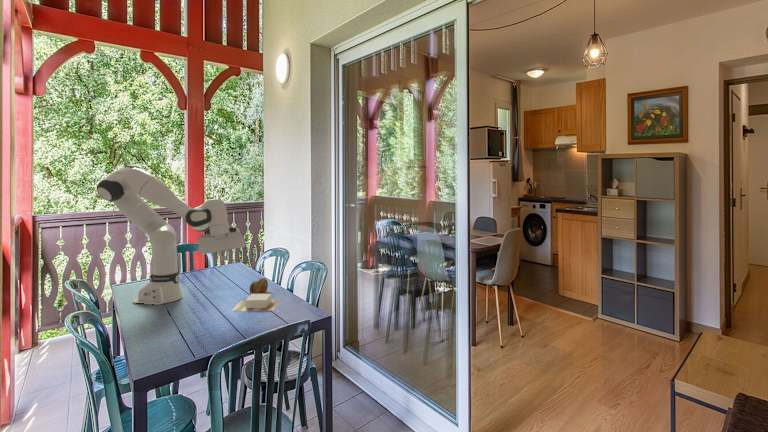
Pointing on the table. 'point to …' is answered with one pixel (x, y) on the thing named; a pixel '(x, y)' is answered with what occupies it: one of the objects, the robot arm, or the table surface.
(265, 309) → the board
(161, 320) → the table surface
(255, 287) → the tin
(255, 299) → the tile
